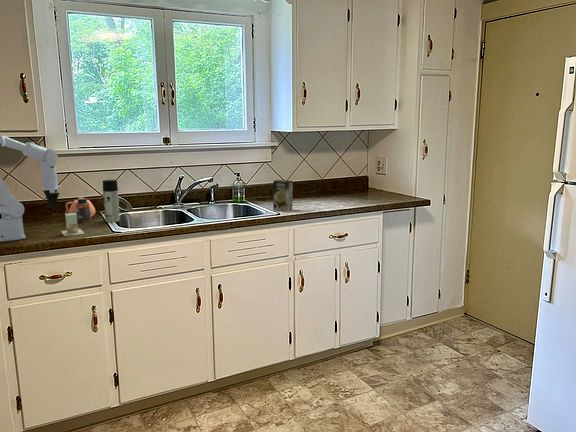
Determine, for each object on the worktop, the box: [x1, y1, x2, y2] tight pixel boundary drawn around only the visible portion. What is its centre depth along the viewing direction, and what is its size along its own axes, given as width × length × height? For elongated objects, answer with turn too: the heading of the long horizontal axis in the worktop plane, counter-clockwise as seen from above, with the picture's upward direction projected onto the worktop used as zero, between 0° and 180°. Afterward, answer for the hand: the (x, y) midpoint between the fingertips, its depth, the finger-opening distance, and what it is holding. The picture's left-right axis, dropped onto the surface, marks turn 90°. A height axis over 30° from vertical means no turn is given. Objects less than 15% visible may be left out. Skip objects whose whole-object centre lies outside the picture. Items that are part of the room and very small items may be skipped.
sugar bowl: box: [64, 197, 96, 218], centre depth 239 cm, size 12×14×10 cm
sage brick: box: [64, 213, 78, 225], centre depth 206 cm, size 4×4×4 cm
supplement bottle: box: [76, 197, 92, 224], centre depth 230 cm, size 6×6×11 cm
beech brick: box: [65, 223, 79, 234], centre depth 207 cm, size 4×4×4 cm
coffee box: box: [272, 179, 294, 212], centre depth 258 cm, size 9×6×16 cm
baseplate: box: [61, 228, 85, 237], centre depth 208 cm, size 8×10×1 cm
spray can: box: [102, 179, 121, 223], centre depth 230 cm, size 7×7×20 cm
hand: (52, 207), depth 212 cm, fingers open, 7 cm apart
